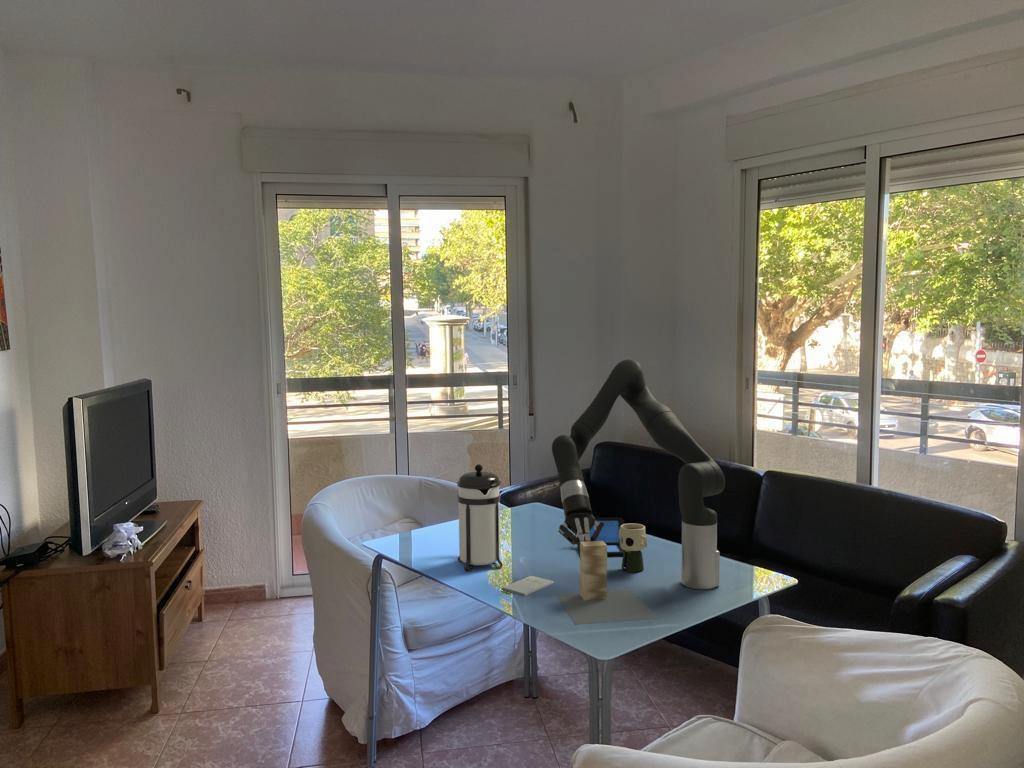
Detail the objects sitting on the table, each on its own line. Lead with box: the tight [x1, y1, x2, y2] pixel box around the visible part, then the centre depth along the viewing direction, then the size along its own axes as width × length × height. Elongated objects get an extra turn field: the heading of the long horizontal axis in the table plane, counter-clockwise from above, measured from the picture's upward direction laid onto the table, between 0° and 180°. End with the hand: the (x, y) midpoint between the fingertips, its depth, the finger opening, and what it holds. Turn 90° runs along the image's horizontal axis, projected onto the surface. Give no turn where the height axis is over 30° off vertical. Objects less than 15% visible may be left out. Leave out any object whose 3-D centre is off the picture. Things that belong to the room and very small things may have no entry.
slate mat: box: [556, 589, 658, 625], centre depth 184 cm, size 20×20×1 cm
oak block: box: [579, 541, 608, 600], centre depth 190 cm, size 6×4×14 cm
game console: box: [576, 517, 625, 558], centre depth 232 cm, size 16×14×9 cm
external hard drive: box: [501, 575, 555, 597], centre depth 199 cm, size 2×8×12 cm
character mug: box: [619, 523, 648, 573], centre depth 212 cm, size 11×7×13 cm, turn 35°
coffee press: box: [456, 463, 504, 572], centre depth 219 cm, size 17×16×30 cm
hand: (587, 556), depth 195 cm, fingers closed
